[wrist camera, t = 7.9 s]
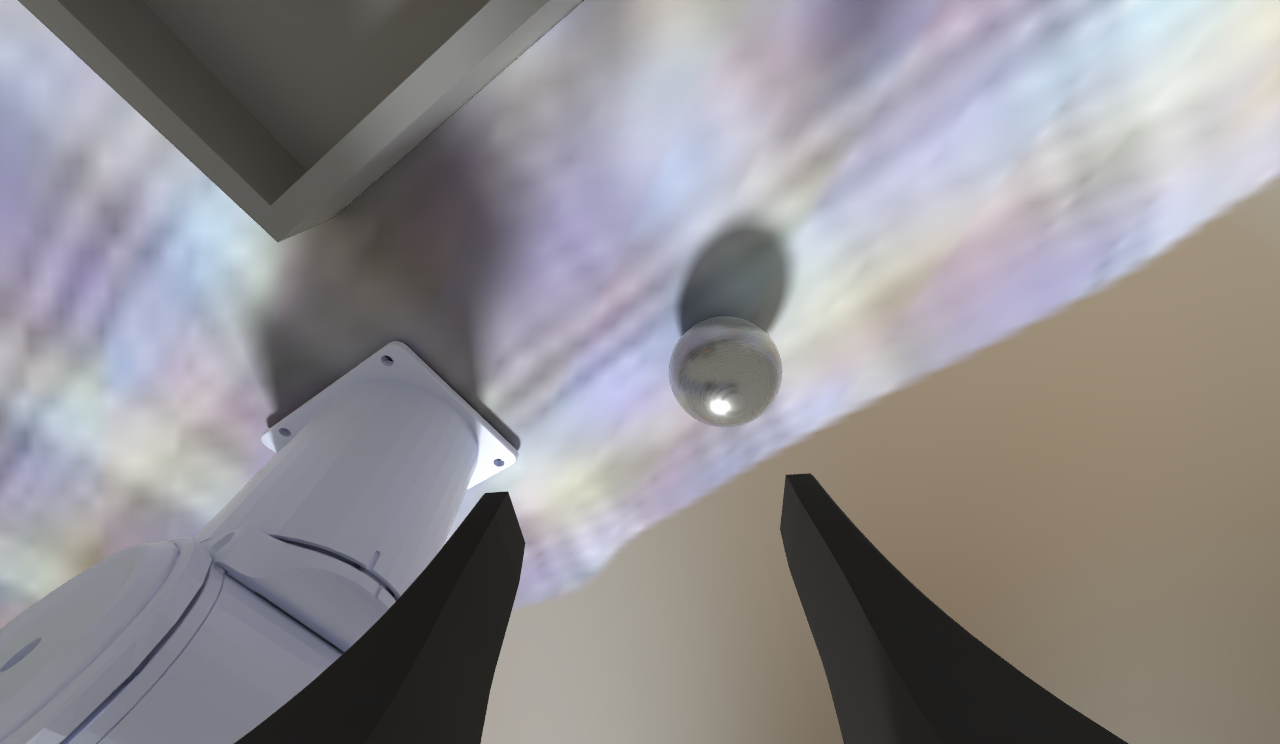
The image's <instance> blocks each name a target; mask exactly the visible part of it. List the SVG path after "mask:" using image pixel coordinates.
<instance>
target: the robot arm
mask: <svg viewBox="0 0 1280 744" xmlns="http://www.w3.org/2000/svg"><path fill="white" fill-rule="evenodd" d="M385 355H386V356H389V357H391V358H392V360H393V361H389V360H387V359H386V357H385ZM287 429H288V430H289V431H288V430H287ZM261 440H262V442H263V443H264V444H265V445H266V446H267V447H269V448H270V449H271V450H273V451H274V452H276V454H275V455H274V456H273V457H272V458H271V459H270V461H269V462H268V463H267V464H266V465H265V466H264V467H263V468H262V469H261V470H260V471H259V472H258V473H257V474H256V475H255V476H254V477H253V478H252V479H251V480H250V481H249V482H248V483H247V484H246V485H245V486H244V487H243V488H242V489H241V490H240V491H239V492H238V493H237V494H236V495H235V496H234V498H233V499H232V500H231V501H230V502H229V503H228V504H227V505H226V506H225V507H224V508H223V509H222V510H221V511H220V512H219V513H218V514H217V515H216V516H215V517H214V518H213V519H212V520H211V521H210V522H209V523H208V524H207V525H206V526H205V527H204V528H203V529H202V530H201V531H200V532H199V534H198V535H197V536H196V537H195V538H194V539H192V538H188V537H177V538H171V539H167V540H164V541H161V542H155V543H148V544H141V545H137V546H133V547H130V548H127V549H125V550H123V551H120V552H118V553H116V554H114V555H112V556H110V557H108V558H106V559H104V560H102V561H100V562H99V563H97V564H95V565H93V566H92V567H90V568H88V569H87V570H85V571H83V572H82V573H80V574H78V575H77V576H75V577H74V578H72V579H71V580H69V581H67V582H66V583H64V584H63V585H61V586H60V587H58V588H57V589H55V590H54V591H52V592H51V593H49V594H48V595H47V596H45V597H44V598H42V599H41V600H39V601H38V602H37V603H35V604H34V605H32V606H31V607H30V608H28V609H27V610H25V611H24V612H23V613H21V614H20V615H19V616H17V617H16V618H15V619H13V620H12V621H10V622H9V623H8V624H6V625H5V626H4V627H3V628H1V629H0V744H480V743H481V737H482V731H483V726H484V721H485V715H486V710H487V704H488V699H489V693H490V689H491V684H492V680H493V676H494V672H495V668H496V665H497V661H498V657H499V653H500V650H501V646H502V643H503V639H504V636H505V632H506V629H507V625H508V622H509V618H510V614H511V611H512V607H513V603H514V600H515V596H516V592H517V588H518V585H519V580H520V574H521V568H522V562H523V554H524V547H525V541H524V538H523V535H522V532H521V529H520V526H519V523H518V520H517V517H516V514H515V511H514V508H513V505H512V502H511V499H510V496H509V493H508V492H495V493H485V494H484V495H483V496H482V498H481V499H480V500H479V501H478V503H477V504H476V505H475V507H474V508H473V509H472V510H471V512H470V513H469V514H468V516H467V517H466V518H465V520H464V521H463V522H462V523H461V525H460V526H459V527H458V529H457V530H456V531H455V532H454V534H453V535H452V536H451V537H450V539H449V540H448V541H447V542H446V544H445V545H444V543H445V540H446V538H447V535H448V533H449V531H450V528H451V526H452V523H453V521H454V519H455V516H456V514H457V511H458V509H459V506H460V504H461V502H462V499H463V497H464V494H465V492H466V490H468V489H469V488H471V487H473V486H475V485H477V484H478V483H480V482H482V481H484V480H486V479H488V478H489V477H491V476H493V475H495V474H497V473H498V472H500V471H502V470H504V469H506V468H508V467H509V466H511V465H513V464H514V463H516V461H517V458H518V452H517V450H516V449H515V448H514V447H513V446H512V445H511V444H510V443H509V442H508V441H506V440H505V439H504V438H503V437H502V436H501V435H500V434H499V433H498V432H497V431H496V430H495V429H494V428H493V427H492V426H491V425H490V424H489V423H488V422H487V421H485V420H484V419H483V418H482V417H481V416H480V415H479V414H478V413H477V412H476V411H475V410H474V409H473V408H472V407H471V406H470V405H469V404H468V403H467V402H465V401H464V400H463V399H462V398H461V397H460V396H459V395H458V394H457V393H456V392H455V391H454V390H453V389H452V388H451V387H450V386H449V385H448V384H447V383H446V382H444V381H443V380H442V379H441V378H440V377H439V376H438V375H437V374H436V373H435V372H434V371H433V370H432V369H431V368H430V367H429V366H428V365H427V364H426V363H424V362H423V361H422V360H421V359H420V358H419V357H418V356H417V355H416V354H415V353H414V352H413V351H412V350H411V349H410V348H409V347H408V346H407V345H405V344H404V343H402V342H399V341H392V342H390V343H388V344H387V345H385V346H384V347H383V348H381V349H380V350H378V351H377V352H376V353H374V354H373V355H371V356H370V357H369V358H367V359H366V360H364V361H363V362H362V363H360V364H359V365H357V366H356V367H355V368H353V369H352V370H351V371H349V372H348V373H346V374H345V375H344V376H342V377H341V378H339V379H338V380H337V381H335V382H334V383H332V384H331V385H330V386H328V387H327V388H325V389H324V390H323V391H321V392H320V393H318V394H317V395H316V396H314V397H313V398H311V399H310V400H309V401H307V402H306V403H304V404H303V405H302V406H300V407H299V408H297V409H296V410H295V411H293V412H292V413H290V414H289V415H288V416H286V417H285V418H284V419H282V420H281V421H279V422H278V423H277V424H275V425H274V426H272V427H271V428H270V429H268V430H267V431H266V432H265V433H264V434H263V435H262V436H261ZM497 459H501V460H503V461H498V460H497ZM780 531H781V535H782V539H783V544H784V548H785V553H786V557H787V561H788V565H789V568H790V572H791V575H792V578H793V580H794V583H795V586H796V589H797V592H798V595H799V598H800V600H801V603H802V606H803V609H804V612H805V615H806V617H807V620H808V623H809V626H810V629H811V631H812V634H813V637H814V640H815V643H816V645H817V648H818V651H819V654H820V656H821V660H822V663H823V666H824V669H825V672H826V676H827V679H828V683H829V686H830V690H831V694H832V698H833V702H834V706H835V710H836V713H837V717H838V721H839V725H840V729H841V733H842V737H843V741H844V744H1128V743H1127V742H1125V741H1123V740H1122V739H1120V738H1119V737H1117V736H1116V735H1114V734H1112V733H1111V732H1109V731H1108V730H1106V729H1105V728H1103V727H1102V726H1100V725H1098V724H1097V723H1095V722H1094V721H1092V720H1090V719H1089V718H1087V717H1086V716H1084V715H1083V714H1081V713H1080V712H1078V711H1076V710H1075V709H1073V708H1072V707H1070V706H1069V705H1067V704H1066V703H1064V702H1063V701H1061V700H1060V699H1058V698H1057V697H1056V696H1054V695H1053V694H1051V693H1050V692H1048V691H1047V690H1045V689H1044V688H1042V687H1041V686H1040V685H1038V684H1037V683H1035V682H1034V681H1032V680H1031V679H1029V678H1028V677H1027V676H1025V675H1024V674H1023V673H1021V672H1020V671H1019V670H1017V669H1016V668H1015V667H1013V666H1012V665H1011V664H1009V663H1008V662H1007V661H1005V660H1004V659H1003V658H1001V657H1000V656H999V655H997V654H996V653H994V651H992V650H991V649H990V648H988V647H987V646H986V645H984V644H983V643H982V642H980V641H979V640H978V639H976V638H975V637H973V636H972V635H971V634H970V633H969V632H968V631H966V630H965V629H964V628H963V627H961V626H960V625H959V624H958V623H957V622H955V621H954V620H953V619H952V618H951V617H949V616H948V615H947V614H946V613H945V612H943V611H942V610H941V609H940V608H939V607H938V606H936V605H935V604H934V603H933V602H932V601H931V600H930V599H928V598H927V597H926V596H925V595H924V594H923V593H922V592H921V591H920V590H919V589H917V588H916V587H915V586H914V585H913V584H912V583H911V582H910V581H909V580H908V579H907V578H906V577H905V576H903V575H902V573H901V572H900V571H898V570H897V569H896V568H895V567H894V566H893V565H892V564H891V563H890V562H889V561H888V560H887V559H886V558H885V557H884V556H883V555H882V554H881V553H880V552H879V551H878V549H876V547H875V546H874V545H873V544H872V543H871V542H870V541H869V540H868V539H867V538H866V537H865V536H864V535H863V533H861V531H860V530H859V529H858V528H857V527H856V526H855V525H854V524H853V523H852V521H851V520H850V519H849V518H848V517H847V516H846V515H845V513H844V512H843V511H842V510H841V509H840V508H839V506H838V505H837V504H836V503H835V502H834V501H833V500H832V498H831V497H830V496H829V495H828V493H827V492H826V491H825V490H824V489H823V487H822V486H821V485H820V484H819V482H818V481H817V480H816V479H815V477H814V476H812V475H811V474H796V475H795V474H794V475H786V480H785V488H784V498H783V507H782V517H781V526H780ZM443 545H444V546H443Z"/></svg>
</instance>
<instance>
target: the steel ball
mask: <svg viewBox="0 0 1280 744" xmlns="http://www.w3.org/2000/svg"><path fill="white" fill-rule="evenodd" d="M669 379H670V384H671V388H672V391H673V393H674V396H675V398H676V399H677V401H678V403H679V404H680V405H681V406H682V408H683V409H684V410H685V411H686V412H687V413H688V414H689V415H691V416H692V417H694V418H695V419H697V420H698V421H700V422H702V423H705V424H708V425H711V426H716V427H735V426H740V425H743V424H746V423H749V422H751V421H753V420H755V419H756V418H758V417H759V416H761V415H762V414H763V413H764V412H765V411H766V410H767V409H768V408H769V407H770V405H771V404H772V403H773V401H774V400H775V398H776V396H777V394H778V391H779V388H780V385H781V380H782V365H781V359H780V355H779V352H778V350H777V348H776V346H775V344H774V342H773V341H772V339H771V338H770V337H769V335H768V334H767V333H766V332H765V331H763V330H762V329H761V328H760V327H758V326H757V325H755V324H754V323H752V322H750V321H747V320H745V319H742V318H738V317H732V316H719V317H713V318H709V319H706V320H704V321H701V322H699V323H697V324H696V325H694V326H693V327H691V328H690V329H689V330H688V331H686V332H685V333H684V335H683V336H682V337H681V338H680V340H679V341H678V342H677V344H676V346H675V348H674V350H673V352H672V355H671V359H670V364H669Z"/></svg>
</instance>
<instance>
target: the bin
mask: <svg viewBox="0 0 1280 744" xmlns="http://www.w3.org/2000/svg"><path fill="white" fill-rule="evenodd" d="M18 1H19V2H20V3H21V4H22V5H24V6H25V7H26V8H27V9H28V10H29V11H30V12H31V13H32V14H33V15H34V16H35V17H36V18H37V19H39V20H40V21H41V22H42V23H43V24H44V25H45V26H46V27H47V28H48V29H49V30H50V31H51V32H53V33H54V34H55V35H56V36H57V37H58V38H59V39H60V40H61V41H62V42H63V43H64V44H65V45H66V46H68V47H69V48H70V49H71V50H72V51H73V52H74V53H75V54H76V55H77V56H78V57H79V58H80V59H82V60H83V61H84V62H85V63H86V64H87V65H88V66H89V67H90V68H91V69H92V70H93V71H94V72H95V73H97V74H98V75H99V76H100V77H101V78H102V79H103V80H104V81H105V82H106V83H107V84H108V85H109V86H111V87H112V88H113V89H114V90H115V91H116V92H117V93H118V94H119V95H120V96H121V97H122V98H123V99H124V100H126V101H127V102H128V103H129V104H130V105H131V106H132V107H133V108H134V109H135V110H136V111H137V112H138V113H140V114H141V115H142V116H143V117H144V118H145V119H146V120H147V121H148V122H149V123H150V124H151V125H152V126H153V127H155V128H156V129H157V130H158V131H159V132H160V133H161V134H162V135H163V136H164V137H165V138H166V139H167V140H169V141H170V142H171V143H172V144H173V145H174V146H175V147H176V148H177V149H178V150H179V151H180V152H181V153H182V154H184V155H185V156H186V157H187V158H188V159H189V160H190V161H191V162H192V163H193V164H194V165H195V166H196V167H198V168H199V169H200V170H201V171H202V172H203V173H204V174H205V175H206V176H207V177H208V178H209V179H210V180H211V181H213V182H214V183H215V184H216V185H217V186H218V187H219V188H220V189H221V190H222V191H223V192H224V193H225V194H227V195H228V196H229V197H230V198H231V199H232V200H233V201H234V202H235V203H236V204H237V205H238V206H239V207H240V208H242V209H243V210H244V211H245V212H246V213H247V214H248V215H249V216H250V217H251V218H252V219H253V220H254V221H256V222H257V223H258V224H259V225H260V226H261V227H262V228H263V229H264V230H265V231H266V232H267V233H268V234H269V235H271V236H272V237H273V238H274V239H275V240H276V241H277V242H280V241H282V240H284V239H286V238H289V237H291V236H293V235H296V234H298V233H300V232H302V231H305V230H307V229H309V228H311V227H314V226H316V225H318V224H320V223H323V222H325V221H327V220H329V219H332V218H334V217H335V216H336V215H337V214H338V213H340V212H341V211H342V210H343V209H344V208H345V207H346V206H348V205H349V204H350V203H351V202H352V201H353V200H355V199H356V198H357V197H358V196H359V195H360V194H361V193H363V192H364V191H365V190H366V189H367V188H368V187H370V186H371V185H372V184H373V183H374V182H375V181H376V180H378V179H379V178H380V177H381V176H382V175H383V174H384V173H386V172H387V171H388V170H389V169H390V168H391V167H393V166H394V165H395V164H396V163H397V162H398V161H399V160H401V159H402V158H403V157H404V156H405V155H406V154H408V153H409V152H410V151H411V150H412V149H413V148H414V147H416V146H417V145H418V144H419V143H420V142H421V141H423V140H424V139H425V138H426V137H427V136H428V135H429V134H431V133H432V132H433V131H434V130H435V129H436V128H437V127H439V126H440V125H441V124H442V123H443V122H444V121H446V120H447V119H448V118H449V117H450V116H451V115H452V114H454V113H455V112H456V111H457V110H458V109H459V108H461V107H462V106H463V105H464V104H465V103H466V102H467V101H469V100H470V99H471V98H472V97H473V96H474V95H476V94H477V93H478V92H479V91H480V90H481V89H482V88H484V87H485V86H486V85H487V84H488V83H489V82H490V81H492V80H493V79H494V78H495V77H496V76H497V75H499V74H500V73H501V72H502V71H503V70H504V69H505V68H507V67H508V66H509V65H510V64H511V63H512V62H514V61H515V60H516V59H517V58H518V57H519V56H520V55H522V54H523V53H524V52H525V51H526V50H527V49H529V48H530V47H531V46H532V45H533V44H534V43H535V42H537V41H538V40H539V39H540V38H541V37H542V36H543V35H545V34H546V33H547V32H548V31H549V30H550V29H552V28H553V27H554V26H555V25H556V24H557V23H558V22H560V21H561V20H562V19H563V18H564V17H565V16H567V15H568V14H569V13H570V12H571V11H572V10H573V9H575V8H576V7H577V6H578V5H579V4H580V3H582V2H583V1H584V0H18Z"/></svg>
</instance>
